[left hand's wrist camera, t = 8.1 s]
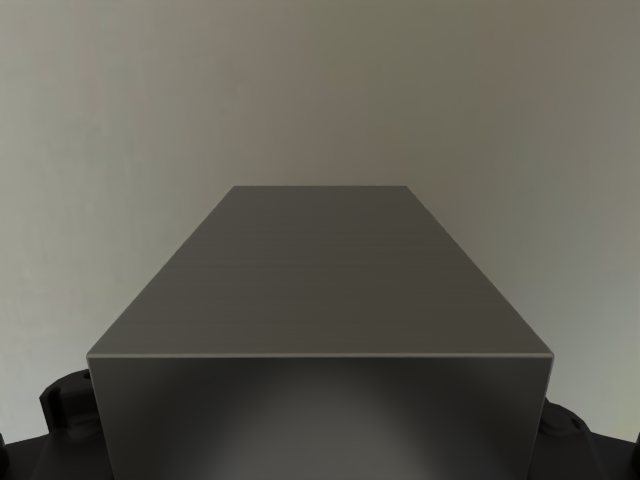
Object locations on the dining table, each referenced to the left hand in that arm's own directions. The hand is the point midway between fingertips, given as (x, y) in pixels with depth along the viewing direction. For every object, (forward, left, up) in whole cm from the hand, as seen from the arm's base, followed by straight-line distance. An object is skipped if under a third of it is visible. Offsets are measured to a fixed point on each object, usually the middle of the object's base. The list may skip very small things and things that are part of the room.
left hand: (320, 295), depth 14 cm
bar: (+10, 0, -1) cm, 10 cm away
